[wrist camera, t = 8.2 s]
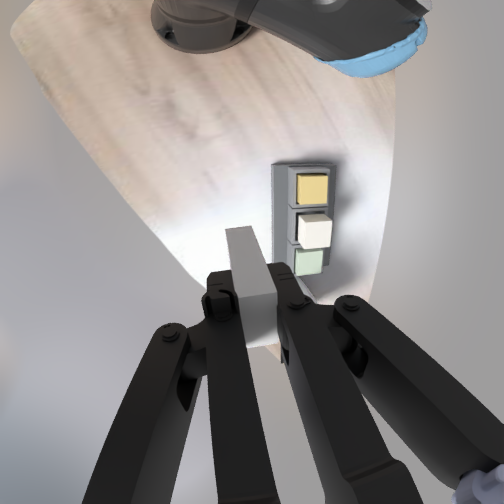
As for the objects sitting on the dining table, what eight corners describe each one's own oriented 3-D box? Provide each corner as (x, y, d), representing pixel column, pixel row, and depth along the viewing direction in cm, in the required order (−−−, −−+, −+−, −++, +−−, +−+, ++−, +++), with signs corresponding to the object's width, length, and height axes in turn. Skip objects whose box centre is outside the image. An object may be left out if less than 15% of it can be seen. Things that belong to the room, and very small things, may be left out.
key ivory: (298, 215, 39) (305, 222, 36) (324, 213, 39) (332, 220, 37) (297, 240, 41) (304, 249, 38) (322, 238, 41) (330, 246, 38)
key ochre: (294, 172, 38) (301, 176, 36) (319, 172, 39) (327, 176, 36) (294, 198, 40) (300, 204, 37) (318, 197, 41) (326, 203, 38)
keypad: (271, 164, 39) (277, 168, 36) (332, 163, 41) (343, 168, 37) (271, 267, 47) (277, 279, 44) (325, 261, 49) (334, 272, 45)
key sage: (293, 244, 44) (298, 253, 41) (316, 242, 44) (323, 250, 41) (292, 266, 45) (297, 275, 43) (314, 263, 46) (320, 272, 43)
